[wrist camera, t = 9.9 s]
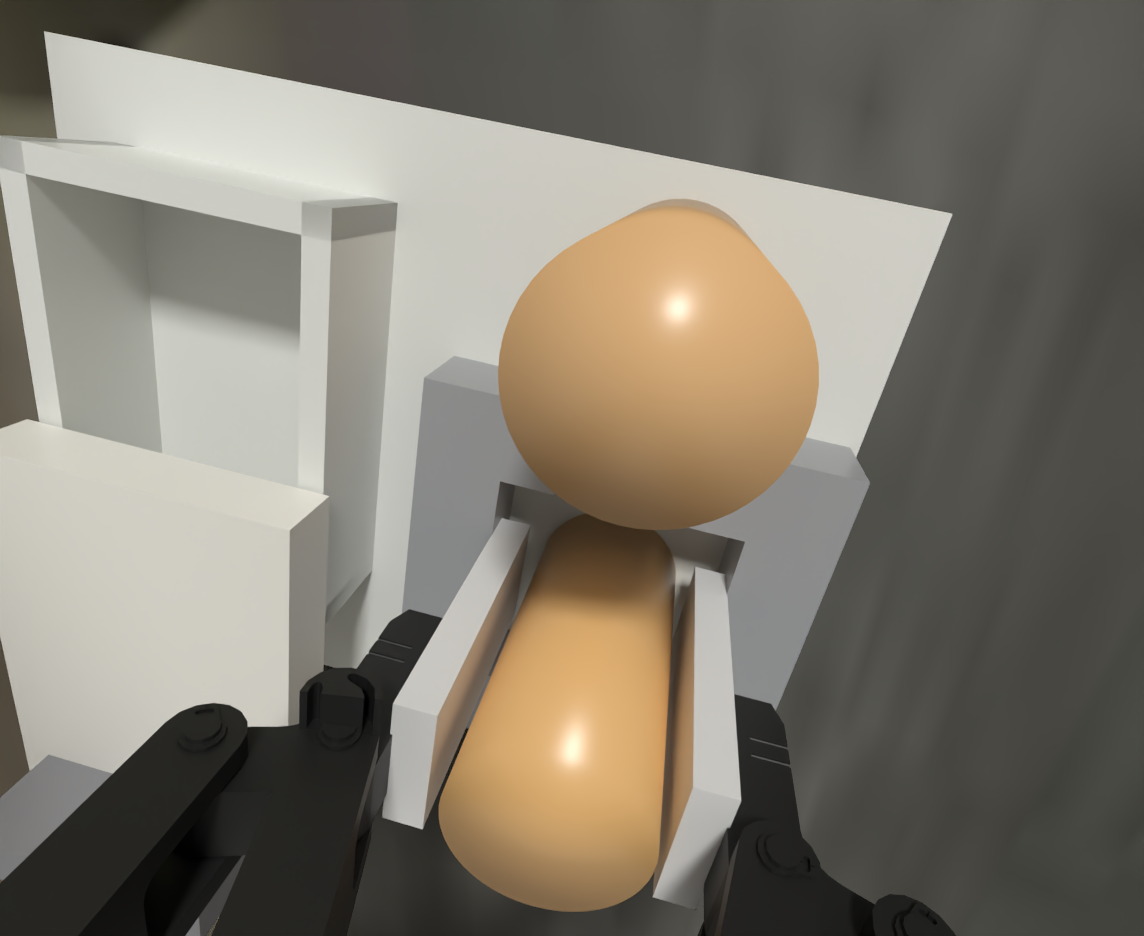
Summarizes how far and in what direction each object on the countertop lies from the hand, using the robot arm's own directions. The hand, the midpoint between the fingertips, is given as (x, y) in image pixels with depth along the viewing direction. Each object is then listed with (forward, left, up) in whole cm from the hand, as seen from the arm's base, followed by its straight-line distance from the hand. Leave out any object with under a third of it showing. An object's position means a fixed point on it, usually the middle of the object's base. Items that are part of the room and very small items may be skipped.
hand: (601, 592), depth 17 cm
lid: (+3, -10, +2) cm, 11 cm away
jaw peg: (0, 0, -1) cm, 1 cm away
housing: (-2, -5, -3) cm, 6 cm away
